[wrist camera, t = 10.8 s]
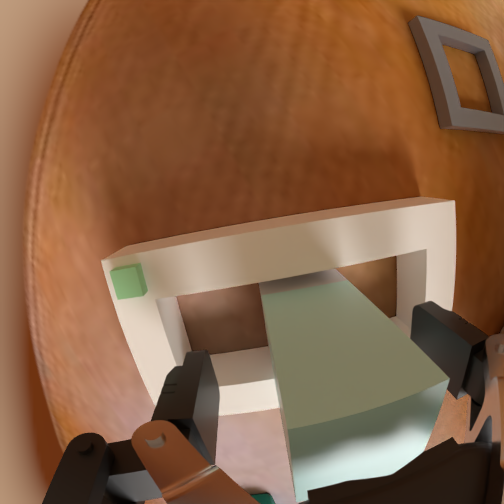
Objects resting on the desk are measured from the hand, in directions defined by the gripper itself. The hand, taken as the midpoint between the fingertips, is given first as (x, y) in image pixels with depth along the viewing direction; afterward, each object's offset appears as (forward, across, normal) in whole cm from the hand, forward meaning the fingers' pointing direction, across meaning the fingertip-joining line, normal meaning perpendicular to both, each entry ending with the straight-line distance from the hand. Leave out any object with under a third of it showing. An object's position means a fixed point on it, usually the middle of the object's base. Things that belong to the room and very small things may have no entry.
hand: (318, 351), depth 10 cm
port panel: (+5, 0, 0) cm, 5 cm away
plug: (+5, 0, 0) cm, 5 cm away
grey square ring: (+5, -14, -12) cm, 19 cm away
